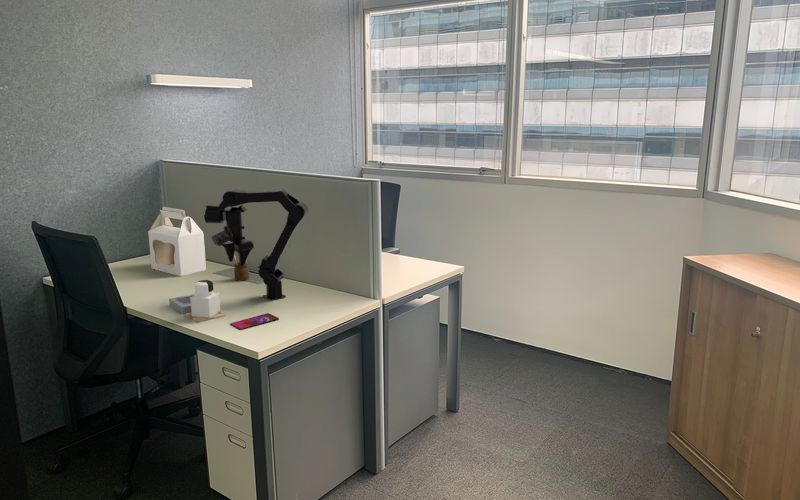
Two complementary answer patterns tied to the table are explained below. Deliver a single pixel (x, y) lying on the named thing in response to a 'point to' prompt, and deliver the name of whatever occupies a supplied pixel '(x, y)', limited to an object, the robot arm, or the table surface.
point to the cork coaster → (200, 319)
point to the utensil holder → (241, 271)
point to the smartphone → (254, 321)
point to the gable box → (176, 244)
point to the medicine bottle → (204, 300)
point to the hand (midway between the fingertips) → (236, 263)
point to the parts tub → (181, 303)
